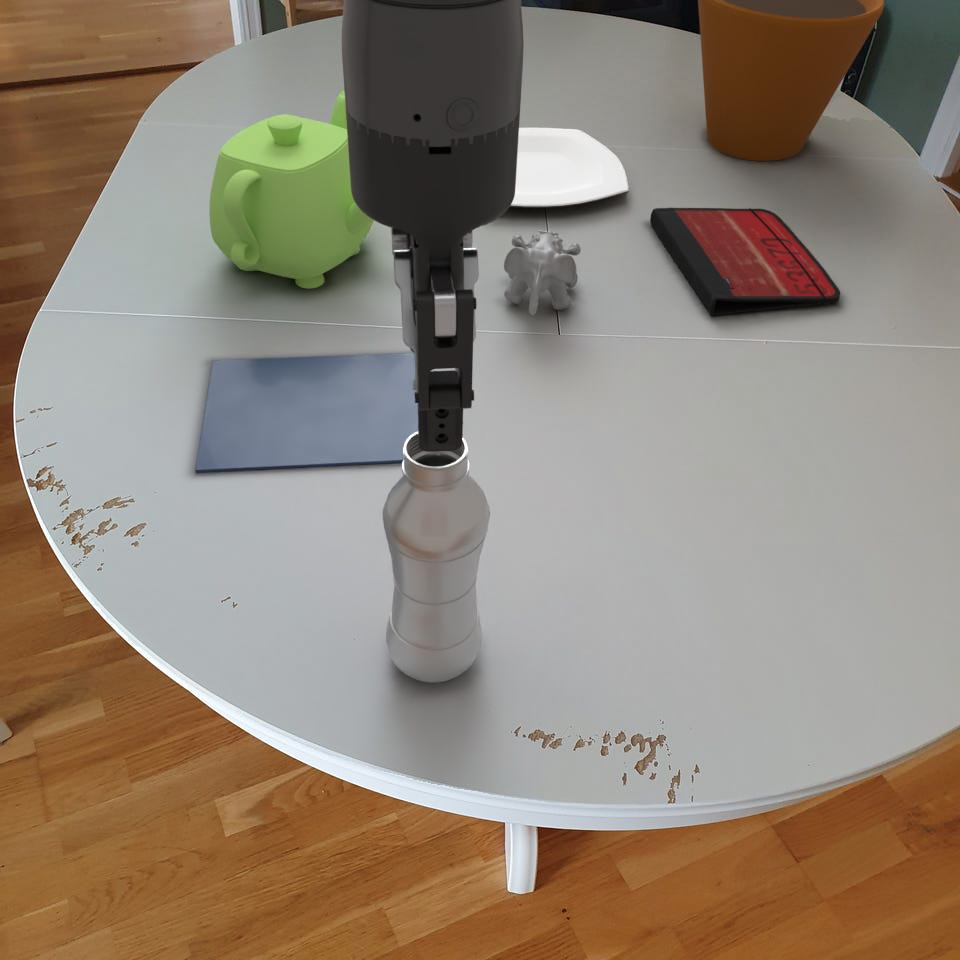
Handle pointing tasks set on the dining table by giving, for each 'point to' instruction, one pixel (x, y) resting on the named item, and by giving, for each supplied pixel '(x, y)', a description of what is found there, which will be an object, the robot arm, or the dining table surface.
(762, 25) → the flower pot
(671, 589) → the dining table surface
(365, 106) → the robot arm
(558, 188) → the plate
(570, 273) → the gray elephant figurine
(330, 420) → the flat rectangular board
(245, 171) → the teapot
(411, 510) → the silver metal bottle
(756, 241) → the notebook
